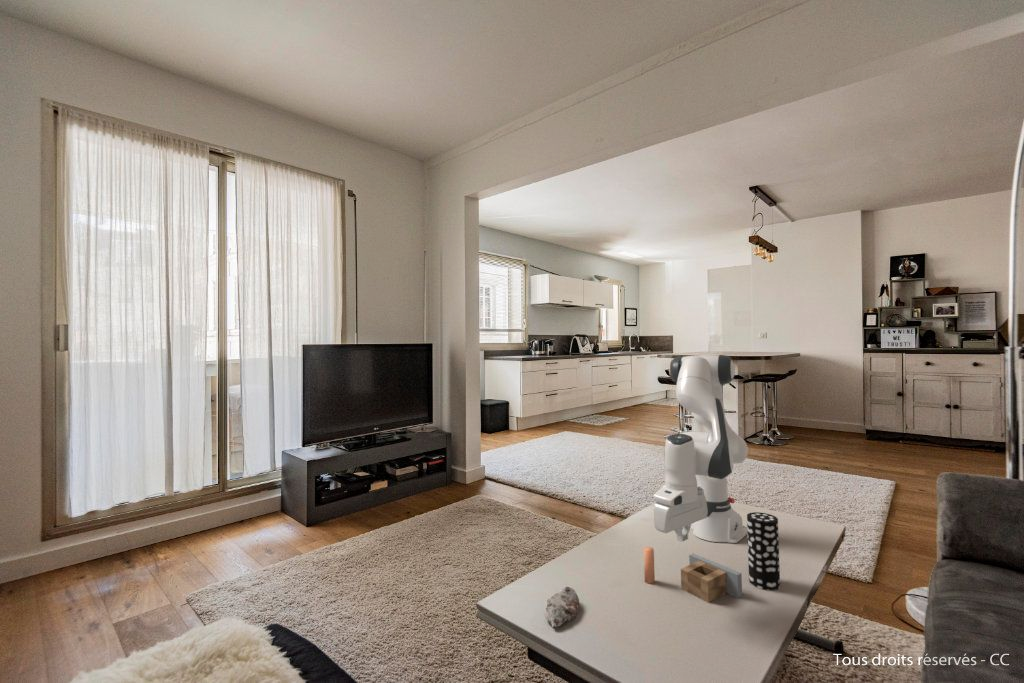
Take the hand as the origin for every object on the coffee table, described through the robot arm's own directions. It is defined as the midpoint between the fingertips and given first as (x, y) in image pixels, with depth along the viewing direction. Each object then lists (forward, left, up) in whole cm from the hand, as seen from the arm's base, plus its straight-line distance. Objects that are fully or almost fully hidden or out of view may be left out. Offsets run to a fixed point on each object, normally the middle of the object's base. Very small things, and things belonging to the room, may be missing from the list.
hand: (682, 540), depth 132 cm
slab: (-14, +1, -17) cm, 22 cm away
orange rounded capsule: (0, -12, -17) cm, 21 cm away
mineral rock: (+33, -14, -17) cm, 40 cm away
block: (-8, +1, -17) cm, 19 cm away
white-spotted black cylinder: (-27, +9, -17) cm, 33 cm away
